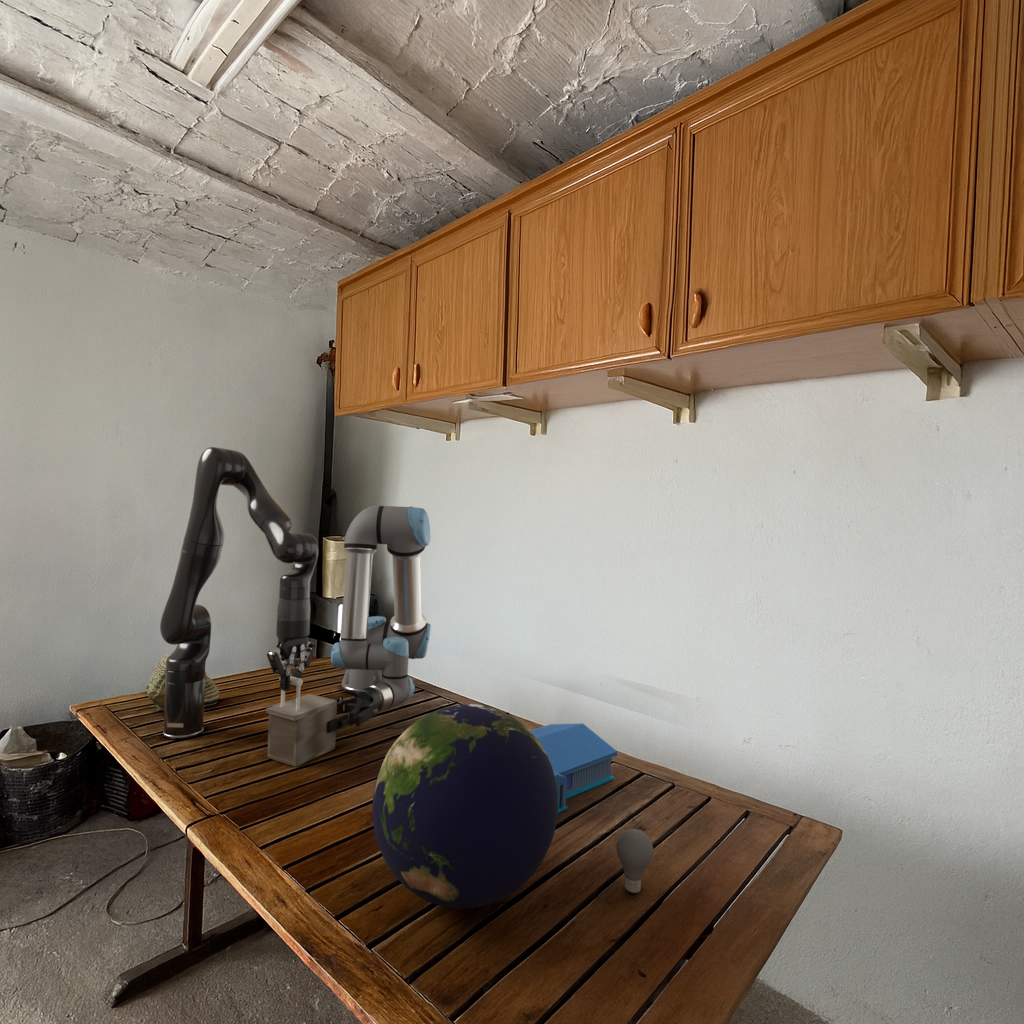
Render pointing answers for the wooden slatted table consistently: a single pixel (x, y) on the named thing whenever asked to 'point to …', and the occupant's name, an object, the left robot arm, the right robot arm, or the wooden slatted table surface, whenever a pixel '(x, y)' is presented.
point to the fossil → (158, 687)
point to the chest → (300, 737)
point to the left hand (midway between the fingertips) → (291, 688)
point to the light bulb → (634, 857)
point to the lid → (300, 703)
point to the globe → (465, 806)
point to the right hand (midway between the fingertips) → (313, 723)
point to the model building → (575, 758)
